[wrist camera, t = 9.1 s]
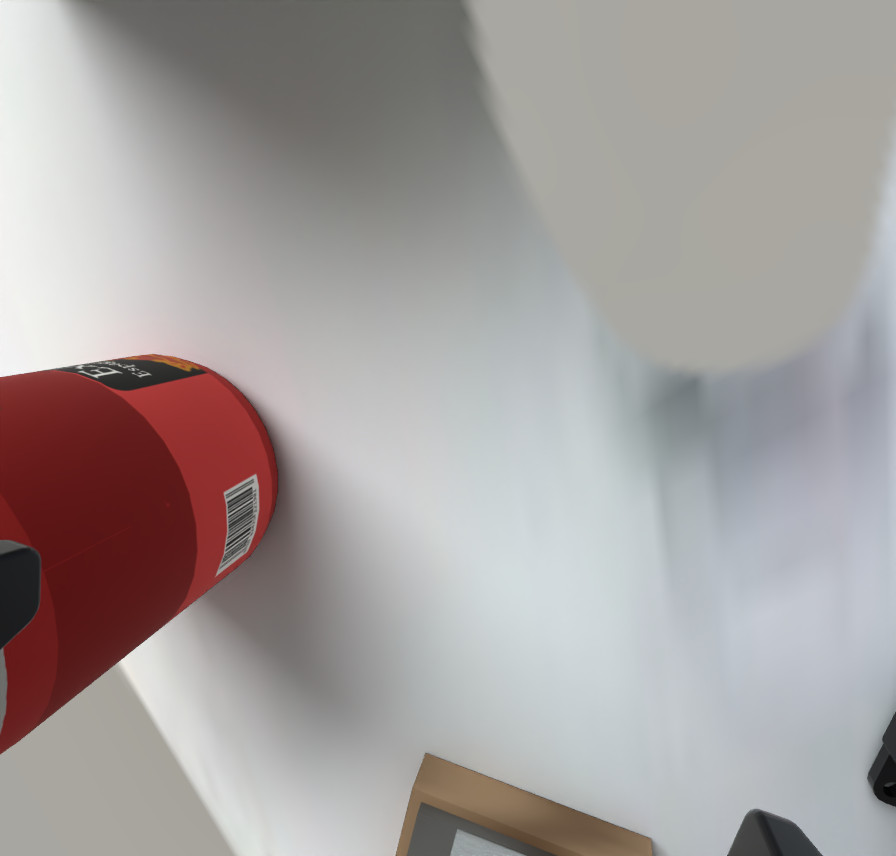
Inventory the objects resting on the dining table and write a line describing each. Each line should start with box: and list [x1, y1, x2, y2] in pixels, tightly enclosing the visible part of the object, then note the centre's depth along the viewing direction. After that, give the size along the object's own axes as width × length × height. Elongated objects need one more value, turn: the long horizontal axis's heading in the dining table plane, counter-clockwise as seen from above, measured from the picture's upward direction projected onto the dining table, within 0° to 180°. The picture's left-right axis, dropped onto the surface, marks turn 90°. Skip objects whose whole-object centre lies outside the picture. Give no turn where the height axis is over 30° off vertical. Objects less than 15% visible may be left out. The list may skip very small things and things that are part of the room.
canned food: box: [0, 354, 278, 754], centre depth 16 cm, size 8×8×11 cm
